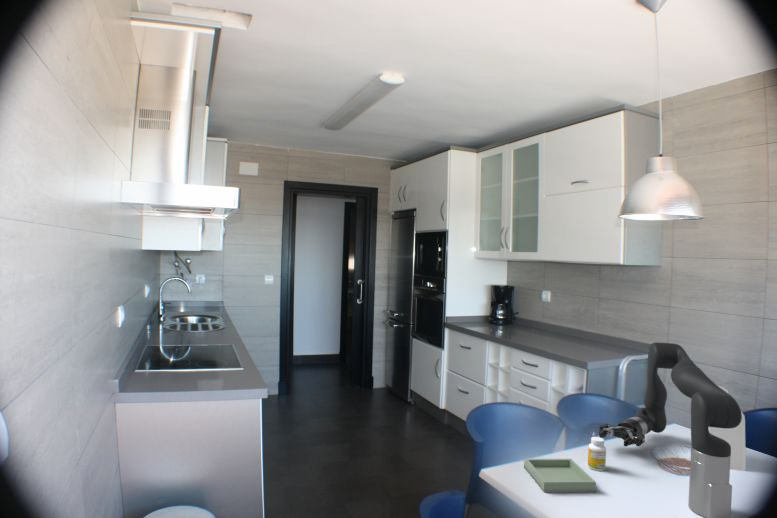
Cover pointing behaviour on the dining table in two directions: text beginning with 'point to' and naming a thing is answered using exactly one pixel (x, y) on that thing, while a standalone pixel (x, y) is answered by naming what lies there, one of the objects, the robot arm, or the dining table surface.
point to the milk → (733, 441)
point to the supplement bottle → (597, 454)
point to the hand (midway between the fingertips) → (612, 439)
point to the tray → (559, 475)
